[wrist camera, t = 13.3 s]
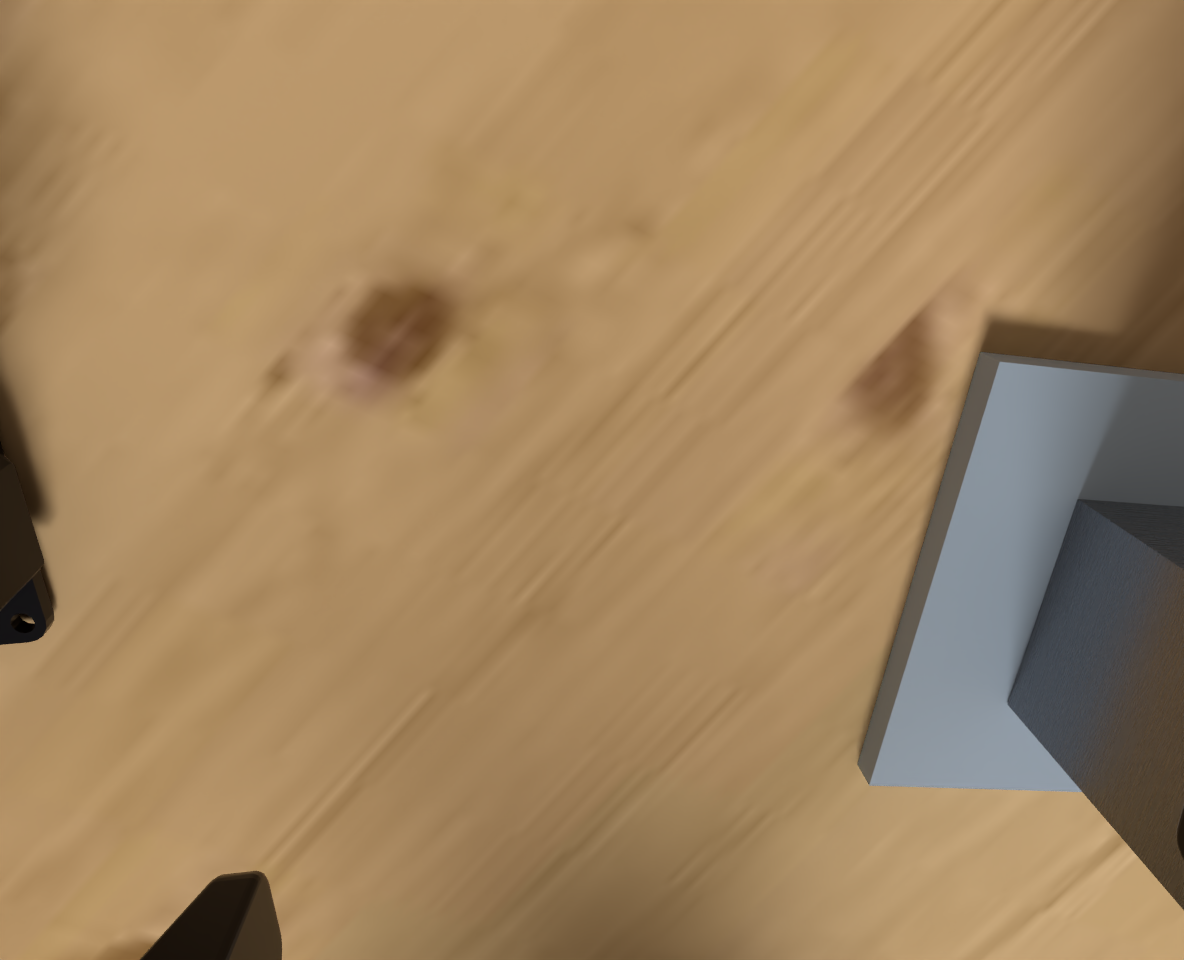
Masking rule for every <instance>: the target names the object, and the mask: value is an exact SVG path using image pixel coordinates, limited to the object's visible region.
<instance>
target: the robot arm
mask: <svg viewBox="0 0 1184 960" xmlns="http://www.w3.org/2000/svg"><path fill="white" fill-rule="evenodd" d="M43 564H44V559H43V556H42V553H41V550H40V546H39V543H38V540H37V537H36V533H35V530H34V527H33V524H32V521H31V517H30V514H29V511H28V508H27V504H26V501H25V498H24V495H23V492H22V488H21V485H20V482H19V479H18V476H17V472H16V469H15V466H14V464H13V463H12V462H11V461H10V460H9V459H8V458H7V457H5V456H4V452H3V449H2V446H1V443H0V645H2V644H14V643H25V642H32V641H35V640H38V639H39V638H41V637H42V636H43V635H44V634H45V633H46V632H47V630H48V629H49V628H50V627H51V625H52V623H53V621H54V612H53V608H52V605H51V602H50V599H49V596H48V593H47V589H46V586H45V583H44V580H43V577H42V573H41V570H40V568H41V567H42V566H43ZM19 613H20V614H26V615H28V616H30V617H31V618H32V619H33V620H34V622H35V624H31V623H27V622H25V621H23V620H22V619H21V617H20V616H19ZM1176 840H1177V844H1178V848H1179V851H1180V854H1181V856H1182V858H1183V860H1184V805H1183V808H1182V812H1181V816H1180V819H1179V823H1178V826H1177V831H1176ZM140 960H282V939H281V933H280V928H279V924H278V920H277V916H276V911H275V907H274V903H273V899H272V894H271V890H270V886H269V882H268V880H267V878H266V876H265V875H264V873H262V872H259V871H251V872H242V873H233V874H224V875H220V876H218V877H217V878H215V879H214V880H212V881H211V882H210V883H209V884H208V885H207V886H206V887H205V889H204V890H203V891H202V892H201V893H200V894H199V895H198V896H197V897H196V898H195V900H194V901H193V902H192V903H191V904H190V905H189V906H188V907H187V908H186V909H185V910H184V912H183V913H182V914H181V915H180V916H179V917H178V918H177V919H176V920H175V921H174V923H173V924H172V925H171V926H170V927H169V928H168V929H167V930H166V931H165V932H164V934H163V935H162V936H161V937H160V938H159V939H158V940H157V941H156V942H155V943H154V945H153V946H152V947H151V948H150V949H149V950H148V951H147V952H146V953H145V954H144V955H143V957H142V958H141V959H140Z"/></svg>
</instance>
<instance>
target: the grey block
mask: <svg viewBox="0 0 1184 960" xmlns="http://www.w3.org/2000/svg"><path fill="white" fill-rule="evenodd" d="M1007 705H1008V706H1009V707H1010V708H1011V709H1012V711H1013V712H1014V713H1015V714H1016V715H1017V716H1018V718H1019V719H1020V720H1021V721H1022V722H1023V723H1024V725H1025V726H1026V727H1027V728H1028V729H1029V730H1030V731H1031V733H1032V734H1033V735H1034V736H1035V737H1036V738H1037V740H1038V741H1039V742H1040V743H1041V744H1042V745H1043V747H1044V748H1045V749H1046V750H1047V751H1048V752H1049V754H1050V755H1051V756H1052V757H1053V758H1054V759H1055V761H1056V762H1057V763H1058V764H1059V765H1060V766H1061V768H1062V769H1063V770H1064V771H1065V772H1066V773H1067V775H1068V776H1069V777H1070V778H1071V779H1072V780H1073V782H1074V783H1075V784H1076V785H1077V786H1078V787H1079V789H1080V790H1081V791H1082V792H1083V793H1084V794H1085V796H1086V797H1087V798H1088V799H1089V800H1090V801H1091V803H1092V804H1093V805H1094V806H1095V807H1096V808H1097V810H1098V811H1099V812H1100V813H1101V814H1102V815H1103V817H1104V818H1105V819H1106V820H1107V821H1108V822H1109V824H1110V825H1111V826H1112V827H1113V828H1114V829H1115V830H1116V832H1117V833H1118V834H1119V835H1120V836H1121V837H1122V839H1123V840H1124V841H1125V842H1126V843H1127V844H1128V846H1129V847H1130V848H1131V849H1132V850H1133V851H1134V853H1135V854H1136V855H1137V856H1138V857H1139V858H1140V860H1141V861H1142V862H1143V863H1144V864H1145V865H1146V867H1147V868H1148V869H1149V870H1150V871H1151V872H1152V874H1153V875H1154V876H1155V877H1156V878H1157V879H1158V881H1159V882H1160V883H1161V884H1162V885H1163V886H1164V888H1165V889H1166V890H1167V891H1168V892H1169V893H1170V895H1171V896H1172V897H1173V898H1174V899H1175V900H1176V902H1177V903H1178V904H1179V905H1180V906H1181V907H1182V909H1183V910H1184V860H1183V858H1182V856H1181V854H1180V851H1179V848H1178V844H1177V840H1176V831H1177V826H1178V823H1179V819H1180V816H1181V812H1182V808H1183V805H1184V507H1180V506H1167V505H1153V504H1140V503H1126V502H1112V501H1099V500H1085V499H1077V502H1076V505H1075V508H1074V510H1073V513H1072V516H1071V519H1070V522H1069V525H1068V528H1067V531H1066V534H1065V537H1064V540H1063V543H1062V546H1061V549H1060V552H1059V554H1058V557H1057V560H1056V563H1055V566H1054V569H1053V572H1052V575H1051V578H1050V581H1049V584H1048V587H1047V590H1046V593H1045V595H1044V598H1043V601H1042V604H1041V607H1040V610H1039V613H1038V616H1037V619H1036V622H1035V625H1034V628H1033V631H1032V634H1031V637H1030V639H1029V642H1028V645H1027V648H1026V651H1025V654H1024V657H1023V660H1022V663H1021V666H1020V669H1019V672H1018V675H1017V678H1016V681H1015V683H1014V686H1013V689H1012V692H1011V695H1010V698H1009V701H1008V704H1007Z"/></svg>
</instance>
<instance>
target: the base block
mask: <svg viewBox="0 0 1184 960" xmlns="http://www.w3.org/2000/svg"><path fill="white" fill-rule="evenodd" d="M1077 499H1085V500H1099V501H1112V502H1126V503H1140V504H1153V505H1167V506H1180V507H1184V374H1178V373H1169V372H1160V371H1151V370H1141V369H1132V368H1123V367H1114V366H1105V365H1096V364H1087V363H1077V362H1068V361H1059V360H1050V359H1041V358H1032V357H1023V356H1013V355H1004V354H995V353H986V352H980V354H979V358H978V361H977V364H976V368H975V371H974V374H973V378H972V381H971V384H970V388H969V391H968V395H967V398H966V401H965V405H964V408H963V411H962V415H961V418H960V421H959V425H958V428H957V432H956V435H955V438H954V442H953V445H952V448H951V452H950V455H949V458H948V462H947V465H946V468H945V472H944V475H943V479H942V482H941V485H940V489H939V492H938V495H937V499H936V502H935V505H934V509H933V512H932V516H931V519H930V522H929V526H928V529H927V532H926V536H925V539H924V542H923V546H922V549H921V552H920V556H919V559H918V563H917V566H916V569H915V573H914V576H913V579H912V583H911V586H910V589H909V593H908V596H907V600H906V603H905V606H904V610H903V613H902V616H901V620H900V623H899V626H898V630H897V633H896V637H895V640H894V643H893V647H892V650H891V653H890V657H889V660H888V663H887V667H886V670H885V673H884V677H883V680H882V684H881V687H880V690H879V694H878V697H877V700H876V704H875V707H874V710H873V714H872V717H871V721H870V724H869V727H868V731H867V734H866V737H865V741H864V744H863V747H862V751H861V754H860V757H859V761H858V766H859V768H860V770H861V772H862V773H863V775H864V777H865V779H866V780H867V782H868V784H869V785H872V786H905V787H937V788H970V789H1003V790H1036V791H1068V792H1082V791H1081V790H1080V789H1079V787H1078V786H1077V785H1076V784H1075V783H1074V782H1073V780H1072V779H1071V778H1070V777H1069V776H1068V775H1067V773H1066V772H1065V771H1064V770H1063V769H1062V768H1061V766H1060V765H1059V764H1058V763H1057V762H1056V761H1055V759H1054V758H1053V757H1052V756H1051V755H1050V754H1049V752H1048V751H1047V750H1046V749H1045V748H1044V747H1043V745H1042V744H1041V743H1040V742H1039V741H1038V740H1037V738H1036V737H1035V736H1034V735H1033V734H1032V733H1031V731H1030V730H1029V729H1028V728H1027V727H1026V726H1025V725H1024V723H1023V722H1022V721H1021V720H1020V719H1019V718H1018V716H1017V715H1016V714H1015V713H1014V712H1013V711H1012V709H1011V708H1010V707H1009V706H1008V705H1007V704H1008V701H1009V698H1010V695H1011V692H1012V689H1013V686H1014V683H1015V681H1016V678H1017V675H1018V672H1019V669H1020V666H1021V663H1022V660H1023V657H1024V654H1025V651H1026V648H1027V645H1028V642H1029V639H1030V637H1031V634H1032V631H1033V628H1034V625H1035V622H1036V619H1037V616H1038V613H1039V610H1040V607H1041V604H1042V601H1043V598H1044V595H1045V593H1046V590H1047V587H1048V584H1049V581H1050V578H1051V575H1052V572H1053V569H1054V566H1055V563H1056V560H1057V557H1058V554H1059V552H1060V549H1061V546H1062V543H1063V540H1064V537H1065V534H1066V531H1067V528H1068V525H1069V522H1070V519H1071V516H1072V513H1073V510H1074V508H1075V505H1076V502H1077Z"/></svg>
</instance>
